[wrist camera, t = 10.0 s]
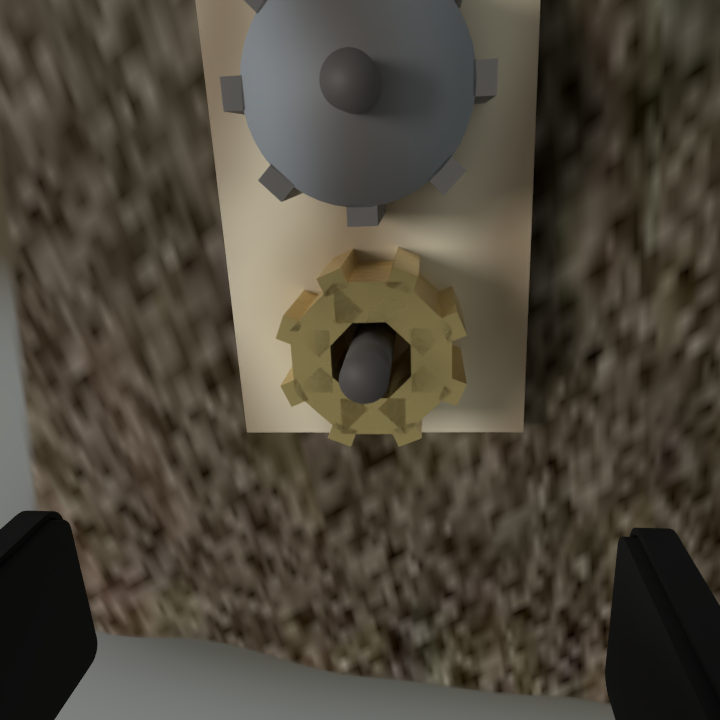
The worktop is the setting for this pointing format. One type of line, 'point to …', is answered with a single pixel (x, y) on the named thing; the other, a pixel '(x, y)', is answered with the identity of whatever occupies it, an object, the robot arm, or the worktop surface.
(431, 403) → the brass gear
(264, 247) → the gear board
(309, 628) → the worktop surface
